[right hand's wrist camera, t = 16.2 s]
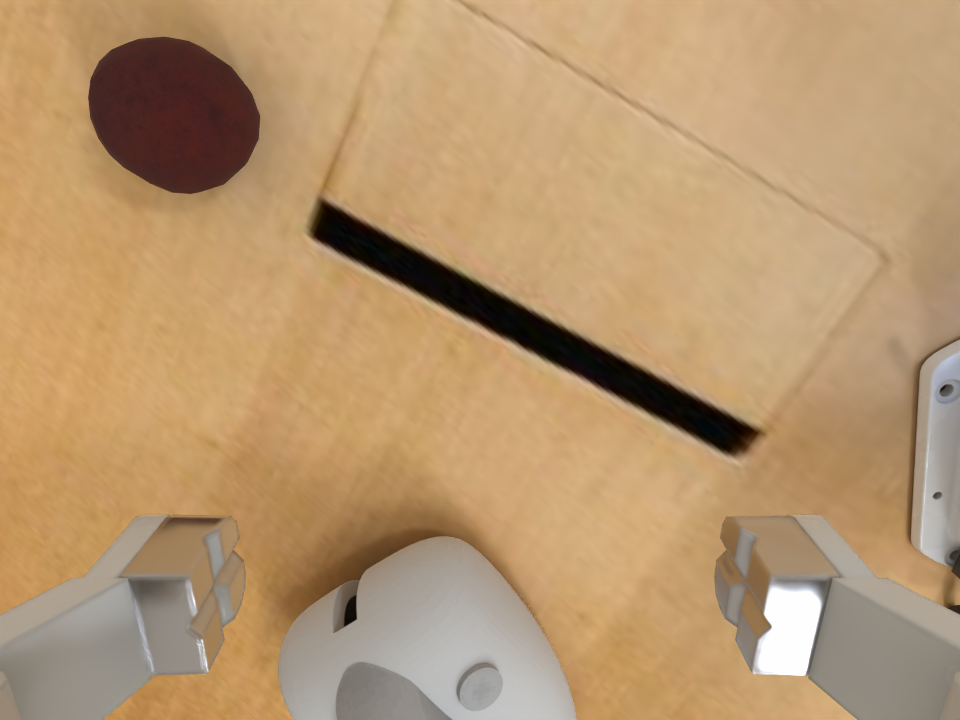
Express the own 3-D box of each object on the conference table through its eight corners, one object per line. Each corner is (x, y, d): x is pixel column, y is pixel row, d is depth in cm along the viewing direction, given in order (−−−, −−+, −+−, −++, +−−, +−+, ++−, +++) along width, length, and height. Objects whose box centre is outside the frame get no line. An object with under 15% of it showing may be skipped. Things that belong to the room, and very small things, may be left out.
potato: (123, 46, 34) (38, 30, 28) (266, 44, 34) (215, 26, 28) (151, 188, 37) (79, 203, 30) (284, 185, 37) (242, 200, 30)
